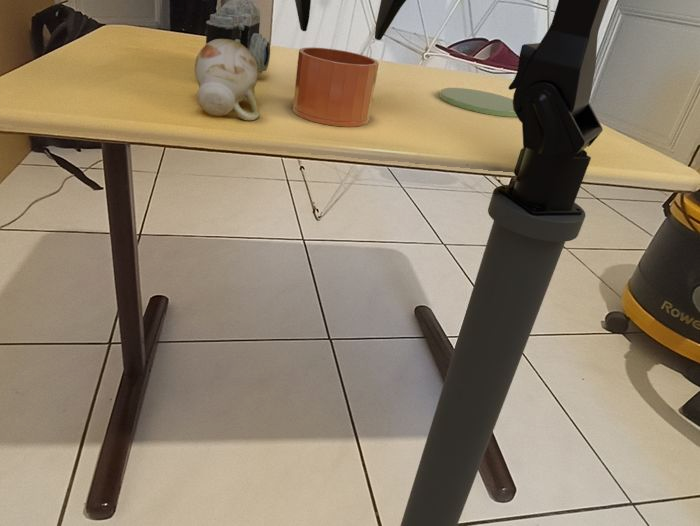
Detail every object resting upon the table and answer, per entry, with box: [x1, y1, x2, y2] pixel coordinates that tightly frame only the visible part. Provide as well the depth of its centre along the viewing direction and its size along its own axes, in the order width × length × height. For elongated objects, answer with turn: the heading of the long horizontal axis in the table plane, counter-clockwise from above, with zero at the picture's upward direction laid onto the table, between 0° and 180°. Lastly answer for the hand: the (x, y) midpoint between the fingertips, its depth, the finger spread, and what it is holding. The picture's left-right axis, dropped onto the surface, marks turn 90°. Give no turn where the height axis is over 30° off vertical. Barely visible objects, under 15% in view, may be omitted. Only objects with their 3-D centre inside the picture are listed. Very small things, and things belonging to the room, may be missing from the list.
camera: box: [205, 0, 271, 74], centre depth 77 cm, size 15×7×10 cm, turn 175°
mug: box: [194, 39, 260, 121], centre depth 63 cm, size 8×10×10 cm
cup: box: [292, 46, 380, 128], centre depth 67 cm, size 9×9×7 cm
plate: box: [439, 87, 518, 118], centre depth 90 cm, size 14×14×1 cm
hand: (341, 35), depth 65 cm, fingers open, 9 cm apart
